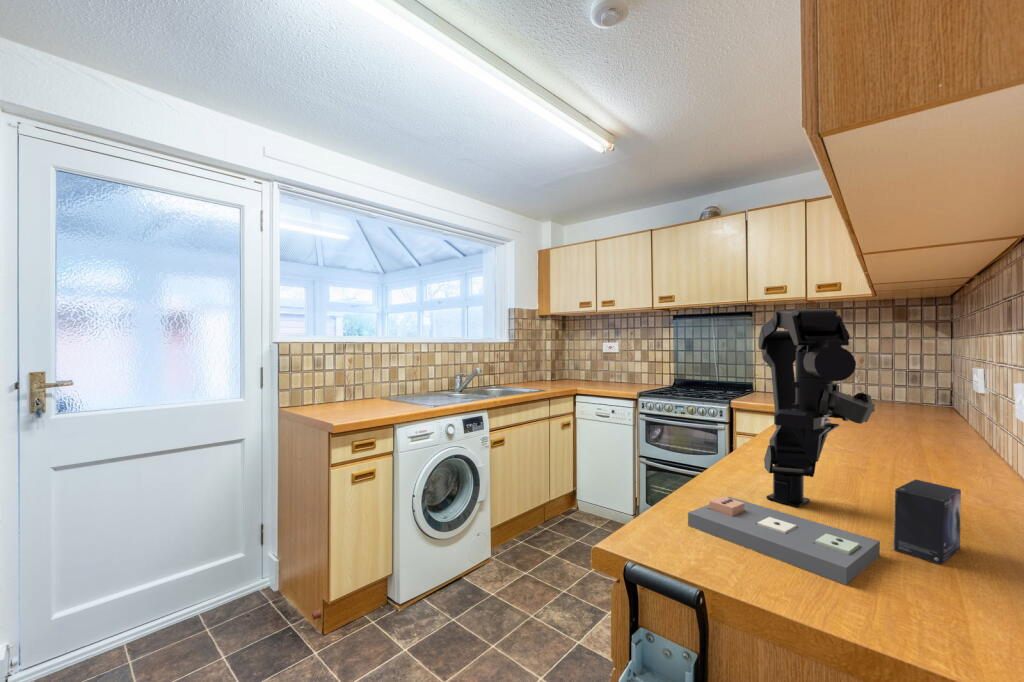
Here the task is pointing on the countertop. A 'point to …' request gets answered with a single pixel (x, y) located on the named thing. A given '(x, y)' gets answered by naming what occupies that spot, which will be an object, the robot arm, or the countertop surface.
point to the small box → (927, 520)
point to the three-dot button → (726, 506)
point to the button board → (789, 540)
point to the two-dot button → (837, 544)
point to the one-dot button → (777, 525)
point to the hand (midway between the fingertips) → (813, 461)
